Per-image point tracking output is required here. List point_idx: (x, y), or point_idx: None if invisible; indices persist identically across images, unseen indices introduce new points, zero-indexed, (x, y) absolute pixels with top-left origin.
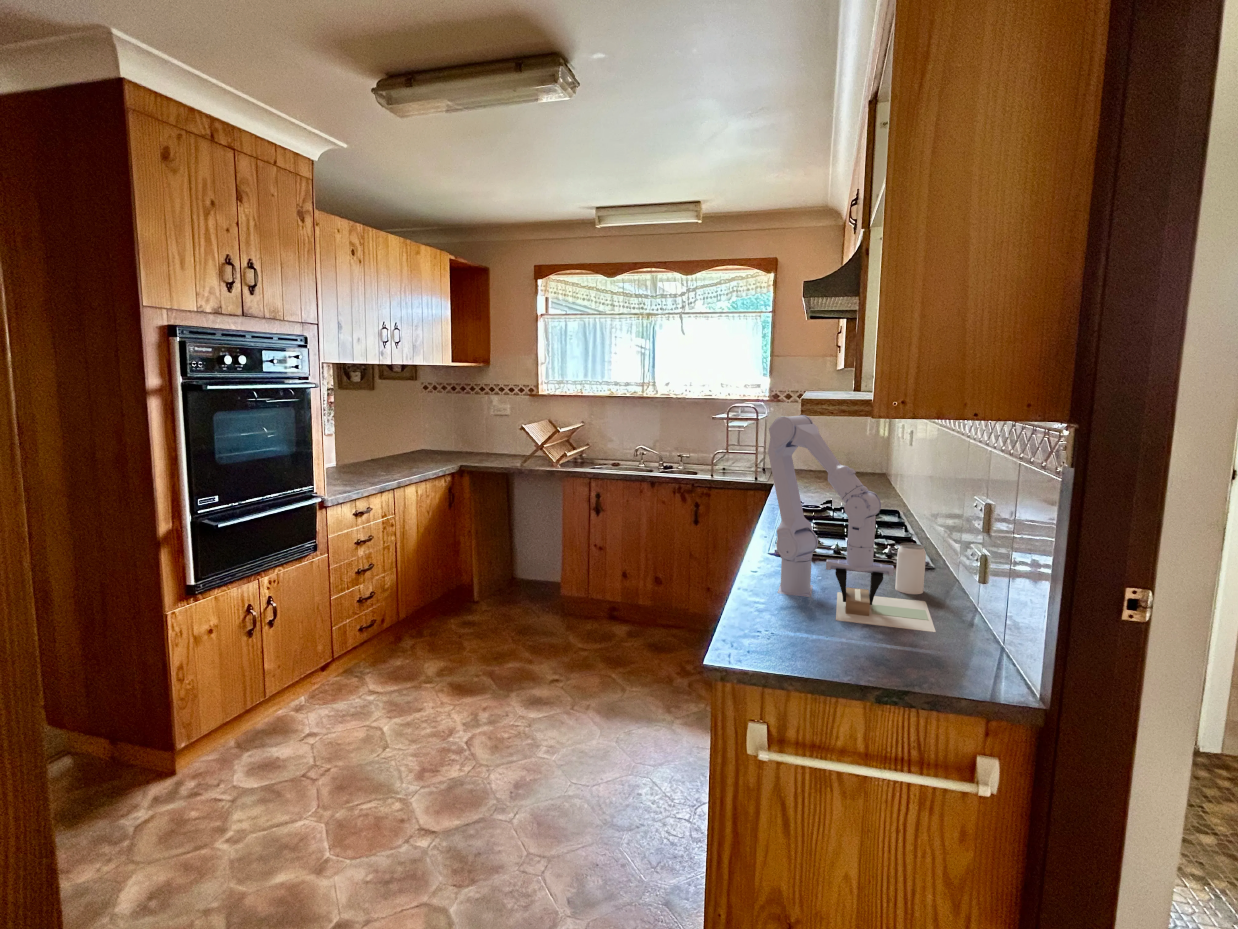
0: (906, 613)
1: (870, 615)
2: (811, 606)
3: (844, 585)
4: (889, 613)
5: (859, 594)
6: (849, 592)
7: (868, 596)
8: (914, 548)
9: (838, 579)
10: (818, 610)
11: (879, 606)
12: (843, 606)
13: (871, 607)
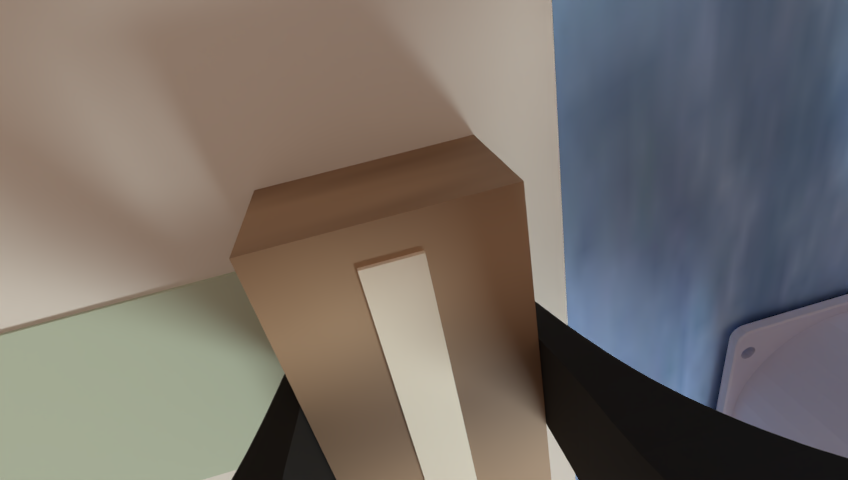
0: (5, 431)
1: None
2: (733, 197)
3: (633, 414)
4: (122, 353)
5: (421, 434)
6: (518, 430)
7: (327, 442)
8: None
9: (798, 450)
10: (687, 138)
11: None
12: None
13: None
